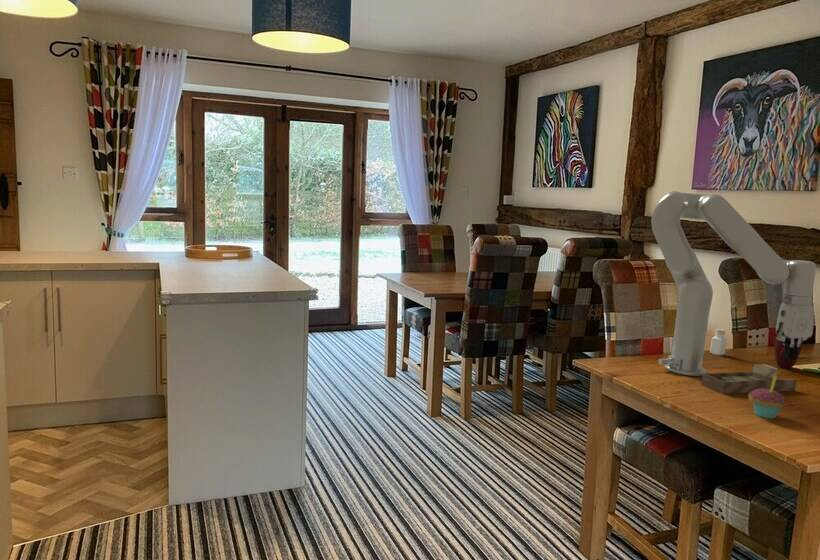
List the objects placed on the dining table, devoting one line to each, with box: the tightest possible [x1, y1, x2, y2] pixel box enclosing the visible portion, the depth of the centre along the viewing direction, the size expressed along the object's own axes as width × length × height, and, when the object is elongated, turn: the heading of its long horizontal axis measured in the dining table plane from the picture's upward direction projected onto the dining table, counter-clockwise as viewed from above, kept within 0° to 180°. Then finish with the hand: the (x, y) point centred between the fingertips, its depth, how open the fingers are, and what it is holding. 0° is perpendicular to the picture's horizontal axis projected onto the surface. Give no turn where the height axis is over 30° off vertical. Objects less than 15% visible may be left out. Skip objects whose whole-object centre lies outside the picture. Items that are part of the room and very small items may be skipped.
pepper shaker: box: [709, 328, 728, 357], centre depth 222 cm, size 4×4×10 cm
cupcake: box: [747, 373, 786, 419], centre depth 158 cm, size 9×8×12 cm
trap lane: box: [700, 371, 797, 395], centre depth 183 cm, size 28×9×4 cm, turn 106°
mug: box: [773, 336, 803, 370], centre depth 208 cm, size 10×8×10 cm
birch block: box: [752, 363, 779, 380], centre depth 184 cm, size 4×4×4 cm
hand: (789, 358), depth 185 cm, fingers closed
